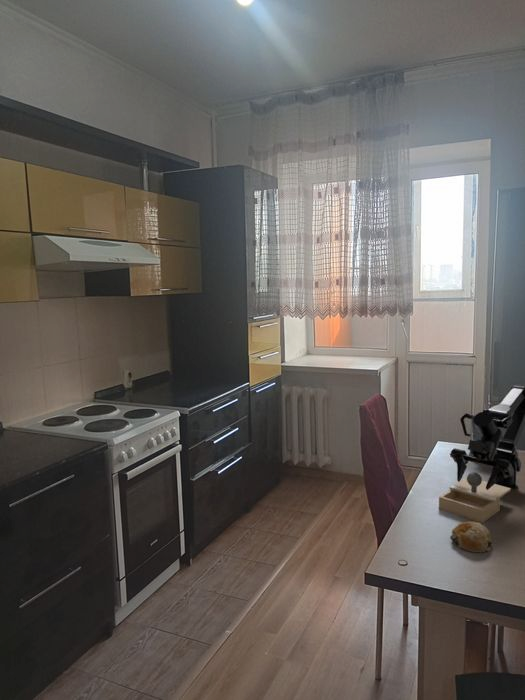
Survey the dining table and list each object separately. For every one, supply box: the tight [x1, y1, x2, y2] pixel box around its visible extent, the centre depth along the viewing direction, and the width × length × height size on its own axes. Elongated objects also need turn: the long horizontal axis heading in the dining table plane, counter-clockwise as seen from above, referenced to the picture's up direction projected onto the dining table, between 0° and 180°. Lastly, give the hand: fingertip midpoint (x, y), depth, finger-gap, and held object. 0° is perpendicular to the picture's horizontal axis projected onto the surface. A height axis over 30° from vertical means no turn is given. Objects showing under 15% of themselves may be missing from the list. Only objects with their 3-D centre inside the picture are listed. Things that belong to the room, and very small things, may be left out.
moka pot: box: [460, 412, 482, 456], centre depth 206 cm, size 10×15×20 cm, turn 78°
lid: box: [449, 472, 512, 502], centre depth 166 cm, size 13×14×7 cm
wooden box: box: [438, 489, 501, 524], centre depth 162 cm, size 12×14×4 cm
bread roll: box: [450, 520, 493, 553], centre depth 141 cm, size 10×10×8 cm
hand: (472, 485), depth 163 cm, fingers open, 9 cm apart
